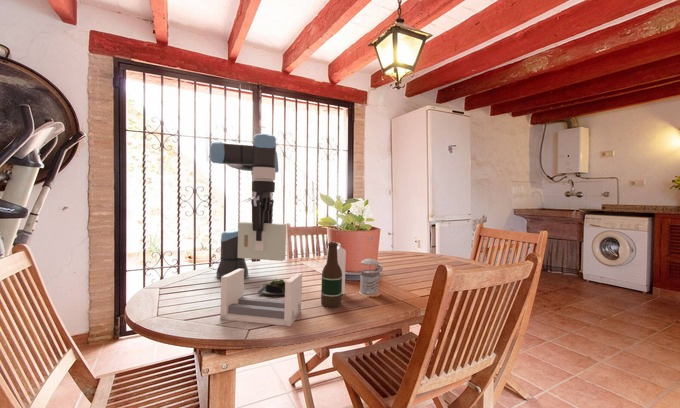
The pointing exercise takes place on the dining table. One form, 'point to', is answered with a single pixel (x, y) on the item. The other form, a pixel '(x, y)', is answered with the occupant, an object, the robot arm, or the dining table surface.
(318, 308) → the dining table surface
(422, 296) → the dining table surface
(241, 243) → the door panel
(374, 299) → the dining table surface
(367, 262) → the french press
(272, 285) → the salad plate
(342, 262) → the milk
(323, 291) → the beer bottle
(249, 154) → the robot arm
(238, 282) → the cabinet base
